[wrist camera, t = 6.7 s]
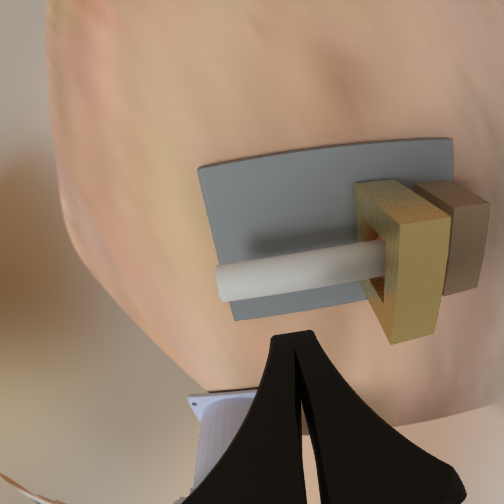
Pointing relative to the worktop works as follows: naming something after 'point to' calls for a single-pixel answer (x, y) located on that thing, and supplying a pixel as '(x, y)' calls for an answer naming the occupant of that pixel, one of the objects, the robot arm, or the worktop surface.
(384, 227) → the collar
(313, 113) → the worktop surface
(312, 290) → the rail
